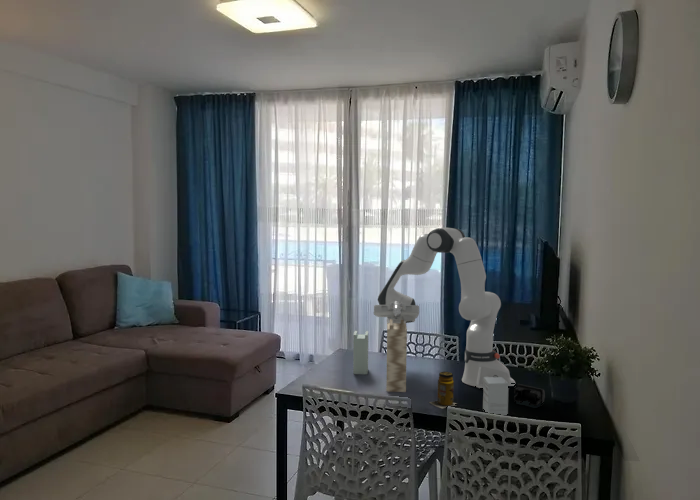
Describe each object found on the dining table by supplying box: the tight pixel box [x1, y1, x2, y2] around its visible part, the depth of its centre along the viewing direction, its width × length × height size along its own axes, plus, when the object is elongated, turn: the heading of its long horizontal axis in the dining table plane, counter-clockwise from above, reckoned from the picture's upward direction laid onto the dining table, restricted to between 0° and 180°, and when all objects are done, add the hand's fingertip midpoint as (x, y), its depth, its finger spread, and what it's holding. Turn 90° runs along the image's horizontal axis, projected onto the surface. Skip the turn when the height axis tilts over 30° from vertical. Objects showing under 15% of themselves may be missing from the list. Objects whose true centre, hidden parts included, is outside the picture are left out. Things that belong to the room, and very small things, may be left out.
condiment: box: [428, 371, 457, 409], centre depth 202 cm, size 7×8×12 cm
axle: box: [393, 301, 401, 317], centre depth 223 cm, size 20×3×3 cm, turn 176°
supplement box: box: [482, 377, 509, 415], centre depth 193 cm, size 7×7×13 cm
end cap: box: [513, 383, 546, 406], centre depth 203 cm, size 10×7×7 cm
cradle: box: [352, 330, 369, 375], centre depth 242 cm, size 6×8×18 cm
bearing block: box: [385, 319, 408, 393], centre depth 221 cm, size 8×12×28 cm, turn 176°
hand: (396, 304), depth 229 cm, fingers closed on axle, 3 cm apart
